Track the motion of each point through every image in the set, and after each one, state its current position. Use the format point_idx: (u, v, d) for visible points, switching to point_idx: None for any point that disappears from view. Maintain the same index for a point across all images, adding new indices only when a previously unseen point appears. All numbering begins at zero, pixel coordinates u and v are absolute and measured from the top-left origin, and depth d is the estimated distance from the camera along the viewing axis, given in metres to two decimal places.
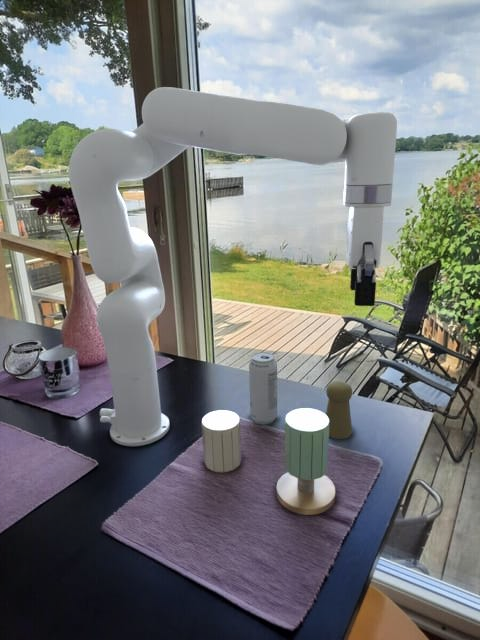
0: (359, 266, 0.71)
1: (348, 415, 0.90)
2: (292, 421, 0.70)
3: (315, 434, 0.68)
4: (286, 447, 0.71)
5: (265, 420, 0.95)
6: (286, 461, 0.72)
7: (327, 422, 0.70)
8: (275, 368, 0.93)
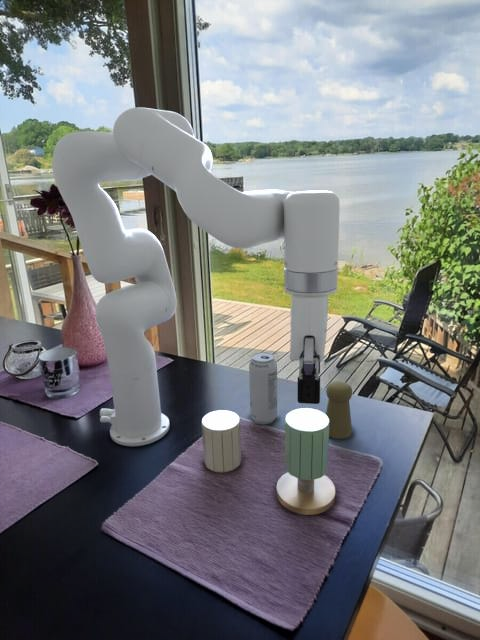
0: (301, 360, 0.63)
1: (348, 415, 0.90)
2: (292, 421, 0.70)
3: (315, 434, 0.68)
4: (286, 447, 0.71)
5: (265, 420, 0.95)
6: (286, 461, 0.72)
7: (327, 422, 0.70)
8: (275, 368, 0.93)
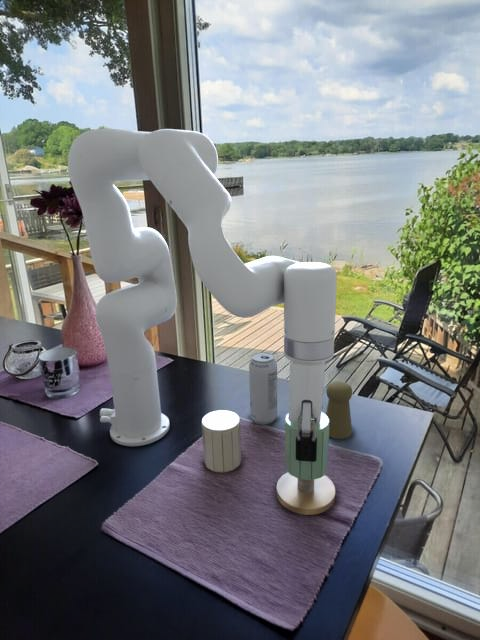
0: (299, 423, 0.67)
1: (348, 415, 0.90)
2: None
3: None
4: (286, 447, 0.71)
5: (265, 420, 0.95)
6: (286, 461, 0.72)
7: (327, 422, 0.70)
8: (275, 368, 0.93)
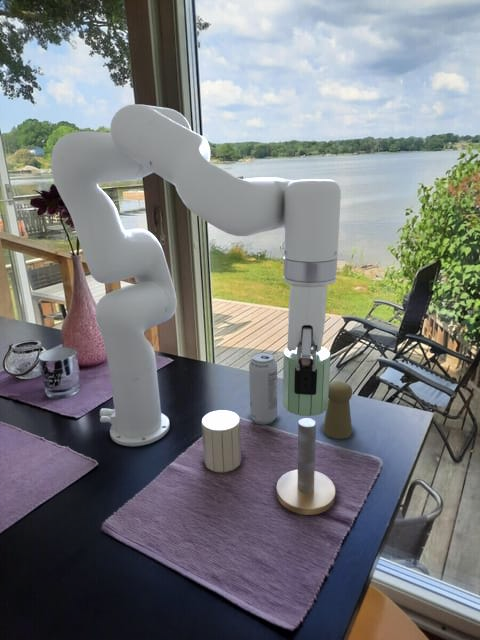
0: (298, 352, 0.63)
1: (348, 415, 0.90)
2: (292, 354, 0.67)
3: None
4: (284, 382, 0.68)
5: (265, 420, 0.95)
6: (284, 398, 0.69)
7: (328, 355, 0.66)
8: (275, 368, 0.93)
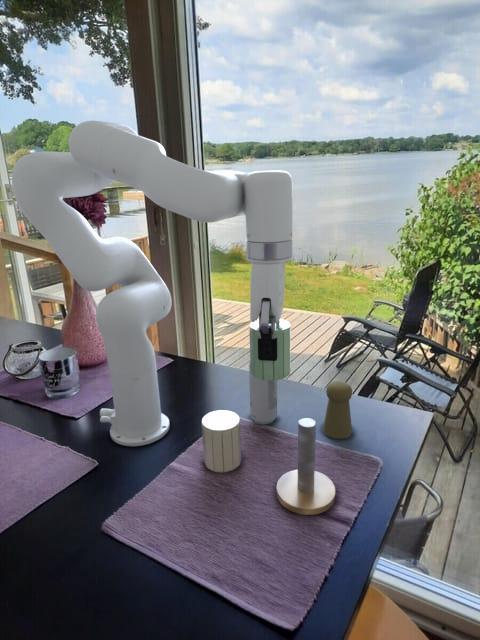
0: (260, 323, 0.72)
1: (348, 415, 0.90)
2: (256, 325, 0.76)
3: (276, 334, 0.73)
4: (251, 351, 0.77)
5: (265, 420, 0.95)
6: (251, 365, 0.78)
7: (288, 326, 0.75)
8: None
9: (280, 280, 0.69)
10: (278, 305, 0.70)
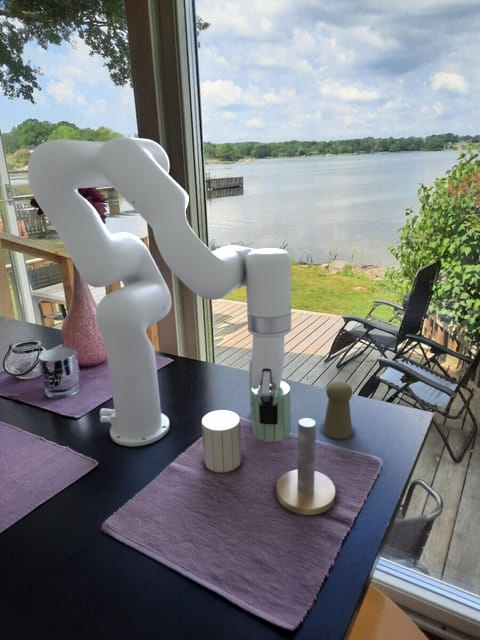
0: (261, 390, 0.76)
1: (348, 415, 0.90)
2: (257, 389, 0.80)
3: (276, 400, 0.77)
4: (252, 413, 0.81)
5: None
6: (253, 426, 0.82)
7: (288, 390, 0.79)
8: None
9: (280, 352, 0.74)
10: (278, 375, 0.74)
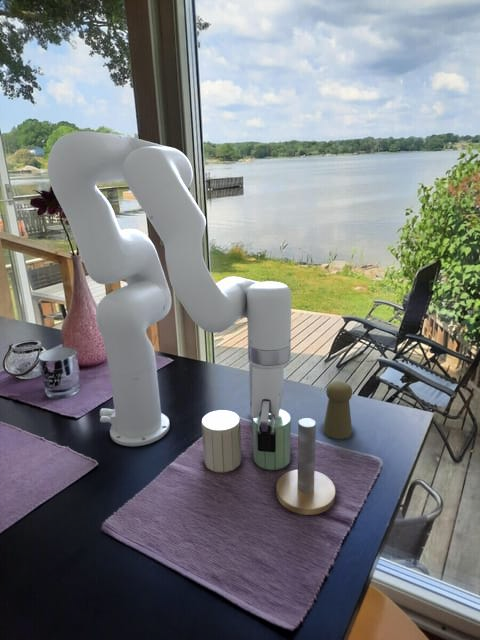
0: (260, 418, 0.77)
1: (348, 415, 0.90)
2: None
3: (277, 430, 0.79)
4: (254, 441, 0.83)
5: None
6: (254, 453, 0.84)
7: (288, 420, 0.81)
8: None
9: (279, 383, 0.76)
10: (277, 405, 0.76)
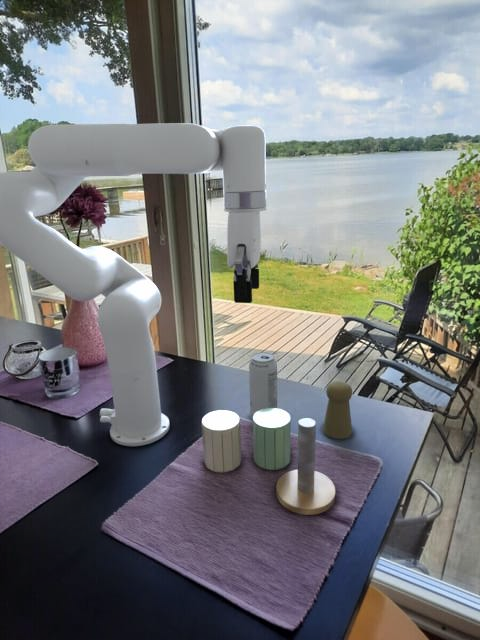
0: None
1: (348, 415, 0.90)
2: (259, 419, 0.82)
3: (277, 430, 0.79)
4: (254, 441, 0.83)
5: None
6: (254, 453, 0.84)
7: (288, 420, 0.81)
8: (275, 368, 0.93)
9: (254, 228, 0.76)
10: (252, 251, 0.76)
